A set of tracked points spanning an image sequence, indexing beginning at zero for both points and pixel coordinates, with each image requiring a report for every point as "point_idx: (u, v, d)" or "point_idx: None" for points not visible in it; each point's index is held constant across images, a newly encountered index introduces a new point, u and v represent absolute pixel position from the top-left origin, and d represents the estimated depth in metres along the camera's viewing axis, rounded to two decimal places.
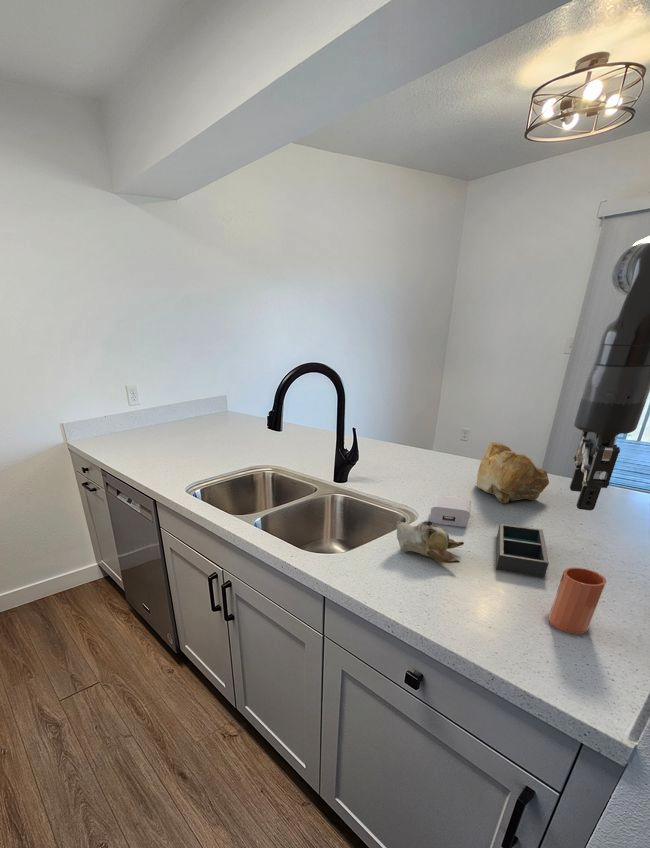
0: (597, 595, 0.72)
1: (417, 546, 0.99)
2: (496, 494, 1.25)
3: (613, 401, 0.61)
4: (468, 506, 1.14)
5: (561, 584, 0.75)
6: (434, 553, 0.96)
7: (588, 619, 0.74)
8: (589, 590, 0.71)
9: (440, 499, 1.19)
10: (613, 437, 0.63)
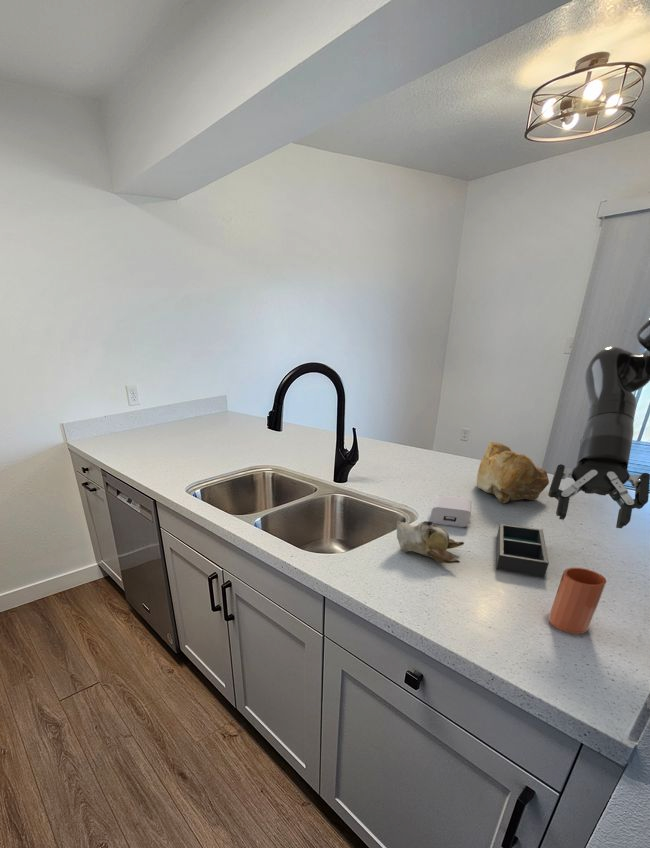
0: (597, 595, 0.72)
1: (417, 546, 0.99)
2: (496, 494, 1.25)
3: (580, 443, 0.84)
4: (469, 506, 1.14)
5: (561, 584, 0.75)
6: (434, 553, 0.96)
7: (588, 619, 0.74)
8: (589, 590, 0.71)
9: (441, 499, 1.19)
10: (578, 463, 0.82)
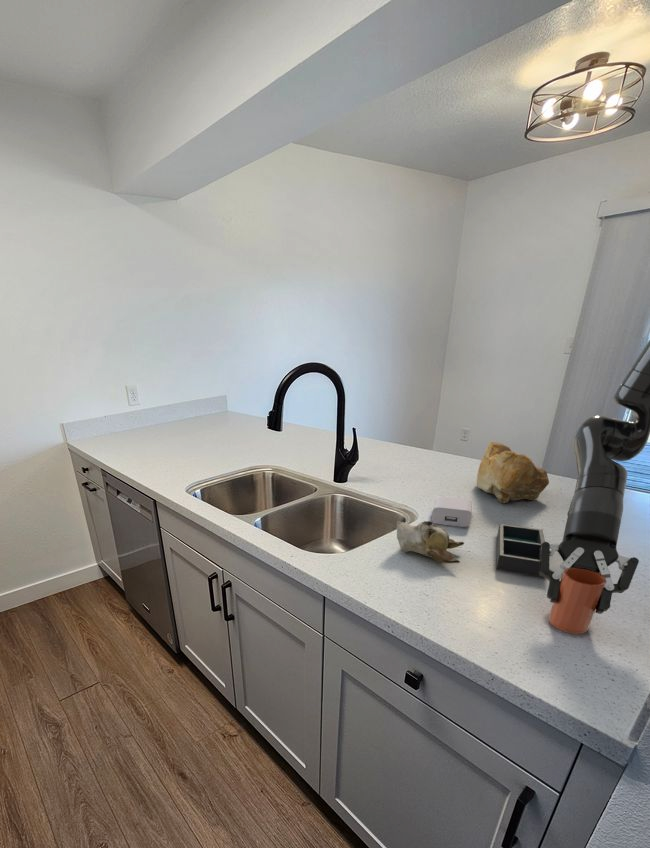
0: (597, 595, 0.72)
1: (417, 546, 0.99)
2: (496, 494, 1.25)
3: None
4: (470, 506, 1.14)
5: (561, 584, 0.75)
6: (434, 553, 0.96)
7: (588, 619, 0.74)
8: (589, 590, 0.71)
9: (441, 499, 1.19)
10: (564, 538, 0.78)
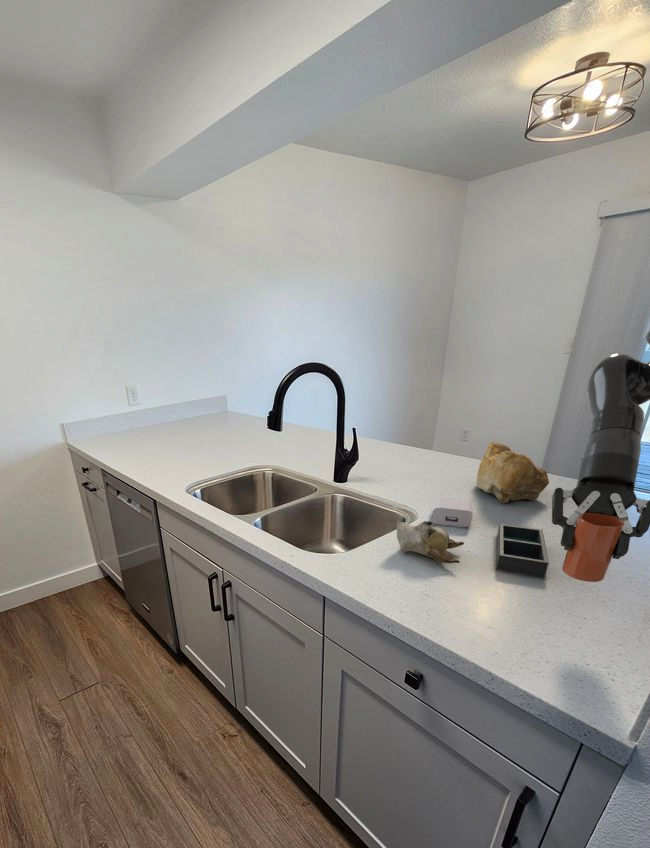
0: (614, 538, 0.68)
1: (417, 546, 0.99)
2: (496, 494, 1.25)
3: None
4: (470, 506, 1.14)
5: (576, 529, 0.71)
6: (434, 553, 0.96)
7: (605, 565, 0.70)
8: (606, 533, 0.67)
9: (442, 499, 1.19)
10: (578, 483, 0.74)
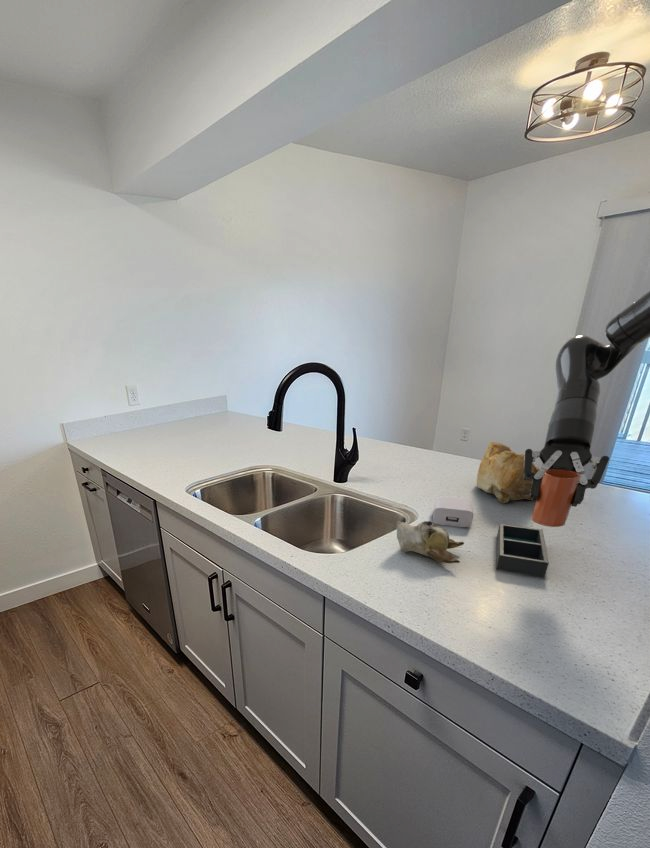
0: (572, 488, 0.81)
1: (417, 546, 0.99)
2: (496, 494, 1.25)
3: None
4: (471, 506, 1.14)
5: (541, 482, 0.85)
6: (434, 553, 0.96)
7: (565, 512, 0.84)
8: (565, 483, 0.81)
9: (442, 500, 1.19)
10: (545, 445, 0.88)
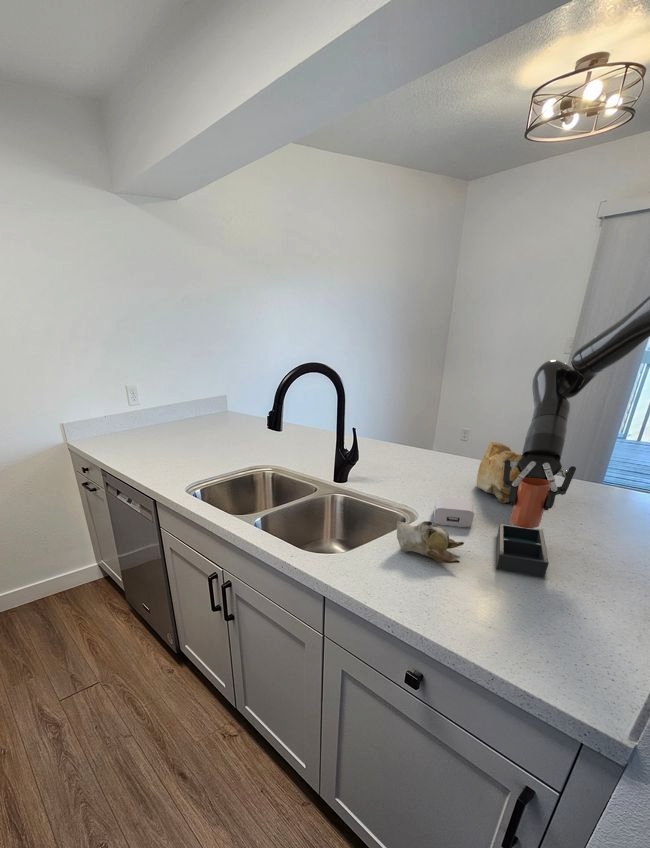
0: (544, 494, 0.94)
1: (417, 546, 0.99)
2: (496, 494, 1.25)
3: None
4: (471, 506, 1.14)
5: (518, 489, 0.97)
6: (434, 553, 0.96)
7: (538, 515, 0.96)
8: (537, 490, 0.93)
9: (442, 500, 1.18)
10: (521, 456, 1.00)
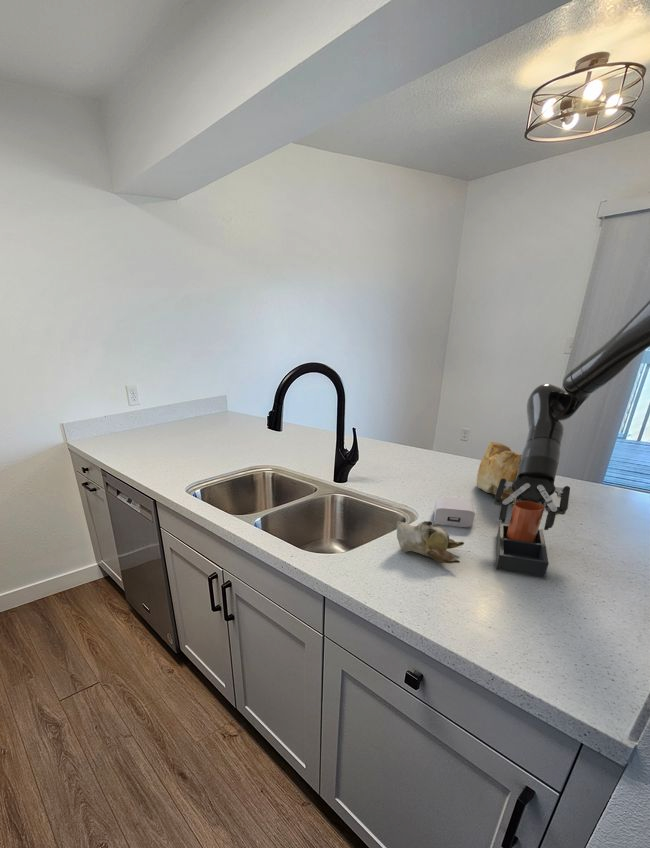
0: (537, 518, 0.96)
1: (417, 546, 0.99)
2: None
3: None
4: (472, 506, 1.14)
5: (512, 512, 1.00)
6: (434, 553, 0.96)
7: (532, 538, 0.98)
8: (531, 514, 0.96)
9: (443, 500, 1.18)
10: (516, 478, 1.02)
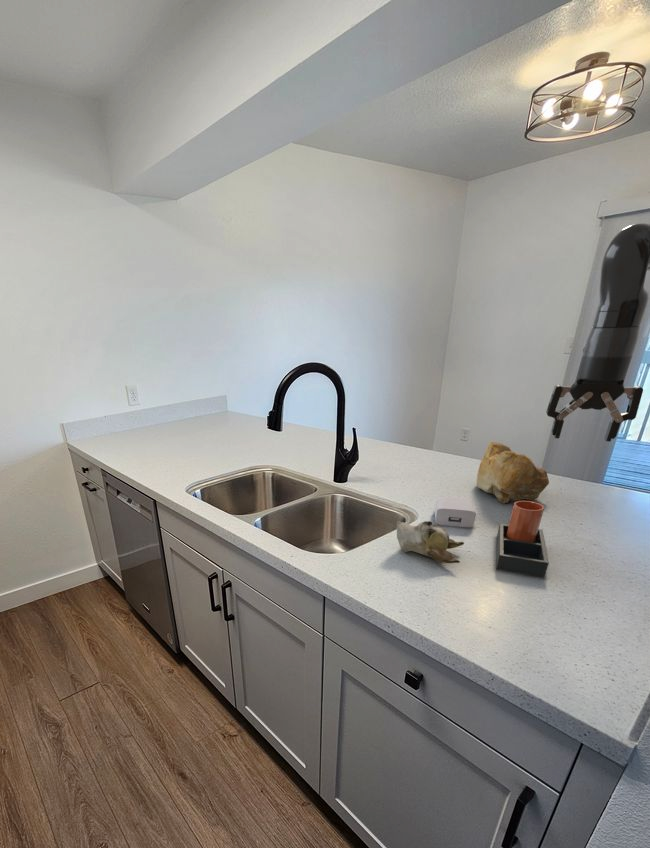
0: (537, 518, 0.96)
1: (417, 546, 0.99)
2: (496, 494, 1.25)
3: None
4: (472, 506, 1.14)
5: (512, 512, 1.00)
6: (434, 553, 0.96)
7: (532, 538, 0.98)
8: (531, 514, 0.96)
9: (443, 500, 1.18)
10: (576, 382, 0.85)
